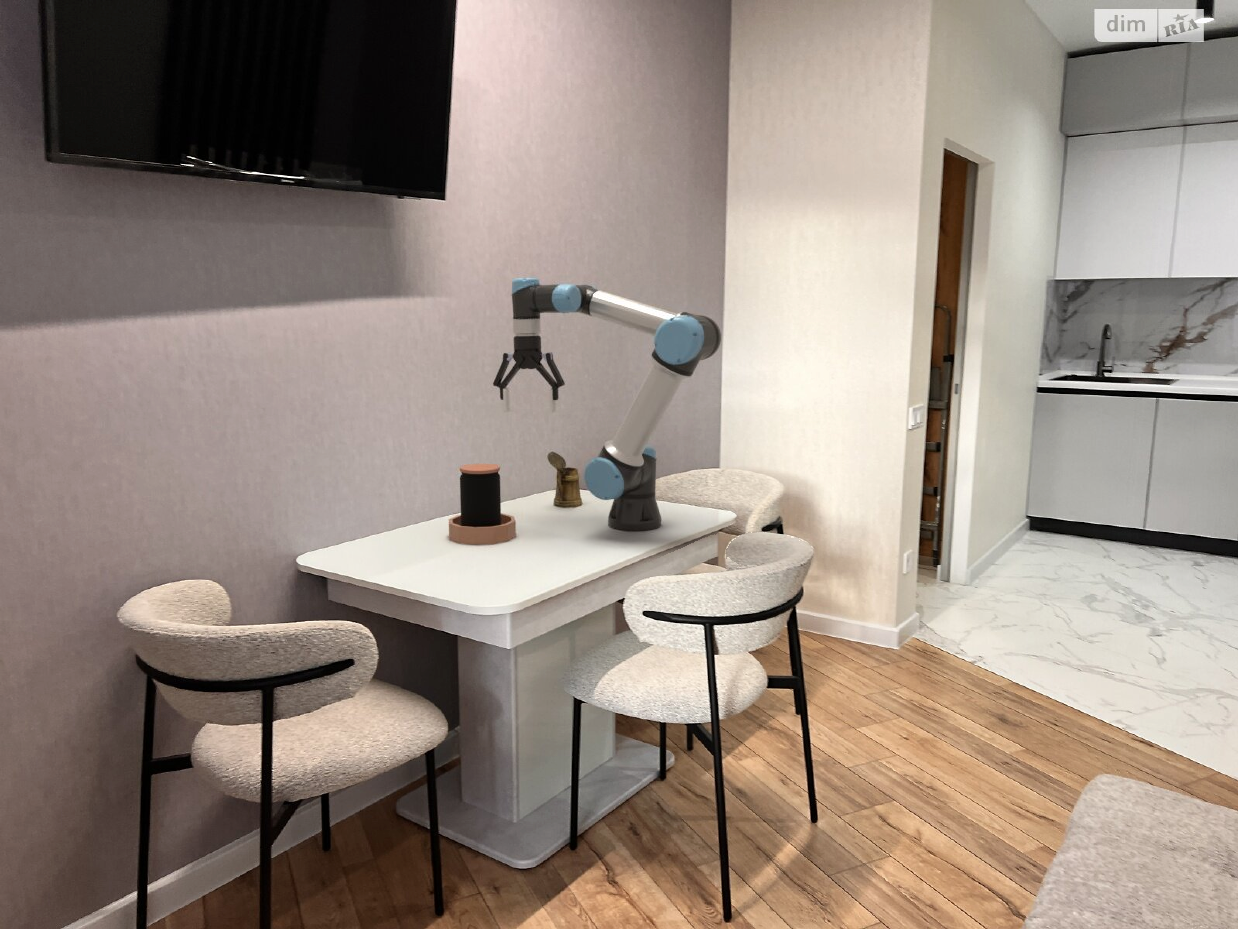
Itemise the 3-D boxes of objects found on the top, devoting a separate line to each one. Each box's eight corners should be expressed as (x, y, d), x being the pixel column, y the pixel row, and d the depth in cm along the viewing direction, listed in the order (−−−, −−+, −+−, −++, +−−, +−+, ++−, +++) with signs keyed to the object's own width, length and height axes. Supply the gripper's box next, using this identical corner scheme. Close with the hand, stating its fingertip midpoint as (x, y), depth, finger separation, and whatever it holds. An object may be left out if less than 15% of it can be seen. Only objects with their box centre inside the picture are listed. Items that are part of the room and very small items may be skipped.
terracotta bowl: (525, 531, 258) (525, 515, 257) (497, 547, 242) (497, 530, 241) (468, 526, 264) (467, 510, 263) (437, 541, 247) (436, 524, 246)
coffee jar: (505, 528, 257) (504, 463, 254) (495, 538, 247) (494, 471, 244) (467, 527, 258) (465, 462, 255) (456, 536, 248) (454, 470, 245)
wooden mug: (539, 508, 286) (539, 450, 283) (563, 500, 298) (563, 444, 294) (564, 511, 282) (564, 452, 279) (587, 503, 293) (587, 446, 290)
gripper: (574, 334, 258) (576, 410, 261) (490, 335, 264) (493, 409, 268) (566, 335, 251) (568, 413, 254) (479, 335, 257) (482, 412, 260)
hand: (529, 411), depth 261 cm, fingers open, 13 cm apart
